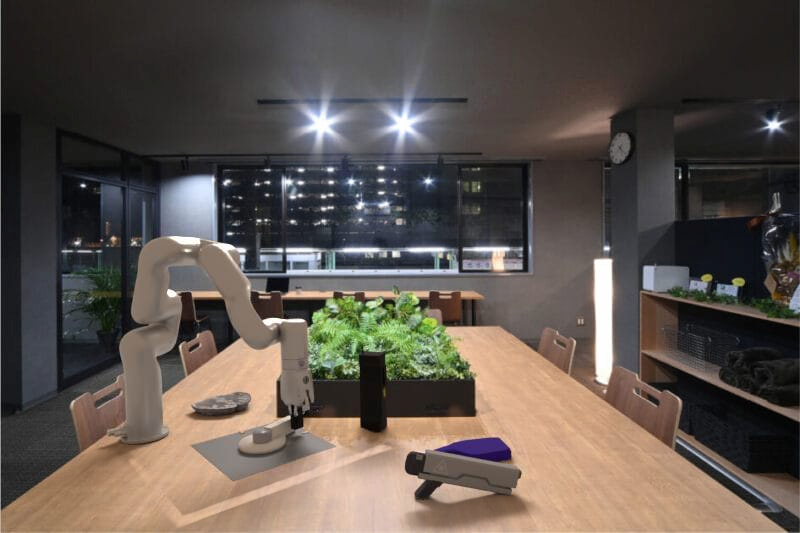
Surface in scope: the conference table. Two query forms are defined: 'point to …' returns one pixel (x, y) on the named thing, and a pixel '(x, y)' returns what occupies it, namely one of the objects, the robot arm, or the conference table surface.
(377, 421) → the black tall block
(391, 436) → the conference table surface
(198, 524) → the conference table surface
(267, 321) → the robot arm
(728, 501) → the conference table surface
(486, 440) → the purple faceted wedge
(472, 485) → the gun
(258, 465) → the dial plate
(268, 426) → the dial rotor
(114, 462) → the conference table surface
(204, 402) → the brain slice
